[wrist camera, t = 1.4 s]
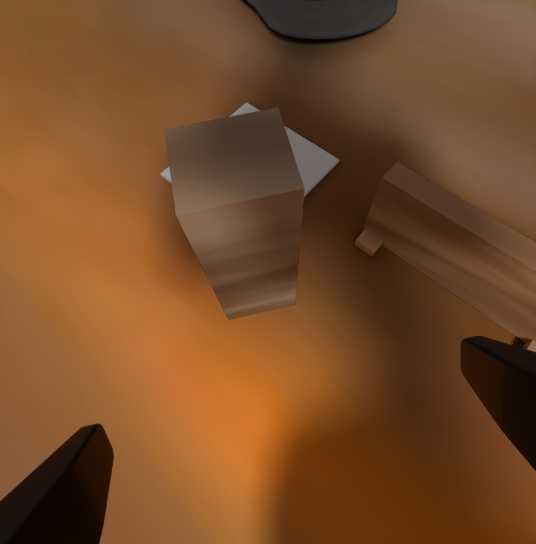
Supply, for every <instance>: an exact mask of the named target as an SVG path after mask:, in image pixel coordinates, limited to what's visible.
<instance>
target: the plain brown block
mask: <svg viewBox="0 0 536 544" xmlns="http://www.w3.org/2000/svg"><path fill="white" fill-rule="evenodd" d="M164 132H165V139H166V146H167V154H168V161H169V169H170V176H171V183H172V191H173V198H174V205H175V213H176V217H177V219H178V221H179V223H180V225H181V227H182V229H183V231H184V233H185V235H186V237H187V238H188V240H189V242H190V244H191V246H192V248H193V250H194V252H195V254H196V256H197V258H198V260H199V262H200V264H201V266H202V268H203V270H204V272H205V274H206V276H207V278H208V280H209V282H210V284H211V286H212V288H213V290H214V292H215V294H216V296H217V298H218V300H219V302H220V304H221V306H222V308H223V310H224V312H225V314H226V316H227V318H228V320H229V319H234V318H238V317H243V316H247V315H252V314H256V313H261V312H265V311H269V310H274V309H278V308H283V307H287V306H292V305H295V300H296V288H297V275H298V263H299V251H300V239H301V226H302V214H303V202H304V189H305V188H304V185H303V182H302V179H301V176H300V173H299V170H298V167H297V164H296V160H295V157H294V154H293V151H292V148H291V145H290V142H289V139H288V136H287V133H286V129H285V126H284V123H283V120H282V117H281V114H280V111H279V108H278V107H276V108H271V109H266V110H261V111H256V112H251V113H246V114H241V115H236V116H230V117H225V118H220V119H215V120H210V121H205V122H200V123H195V124H190V125H185V126H180V127H174V128H169V129H164Z"/></svg>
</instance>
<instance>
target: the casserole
mask: <svg viewBox="0 0 536 544" xmlns="http://www.w3.org/2000/svg"><path fill="white" fill-rule="evenodd" d="M246 1H247V2H248V3H249V4H251V5H252V6H253V7H254V8H255V9H256V10H257V12H258V13H259V15H260V16H261V17H262V19H263V20H264V21H265V22H266V24H267V25H268V26H269V27H270V28H271V29H272V30H274V31H276V32H278V33H280V34H282V35H286V36H291V37H295V38H303V39H337V38H343V37H349V36H354V35H359V34H362V33H365V32H368V31H371V30H374V29H376V28H378V27H380V26H382V25H384V24H386V23H388V22H389V21H390V19H391V18H392V17H393V16H394V15H395V14H396V8H397V0H246Z"/></svg>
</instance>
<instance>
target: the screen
mask: <svg viewBox="0 0 536 544" xmlns="http://www.w3.org/2000/svg"><path fill="white" fill-rule="evenodd" d="M361 232H362V233H361V234H360V236H359V237H358V238H357V239H356V241H355V243H354V246H356V247H357V248H359V249H360V250H362V251H363V252H364V253H366V254H367V255H369V256H370V257H372V256H373V255H374V254H375V253H376V252H377V250H378V249H379V248H380V247H381V246H384V247H385V248H387V249H388V250H389V251H391V252H392V253H394V254H395V255H397V256H398V257H400V258H401V259H403V260H404V261H406V262H407V263H409V264H410V265H412V266H413V267H415V268H416V269H417V270H419V271H420V272H422V273H423V274H425V275H426V276H428V277H429V278H431V279H432V280H434V281H435V282H437V283H438V284H440V285H441V286H443V287H444V288H445V289H447V290H448V291H450V292H451V293H453V294H454V295H456V296H457V297H459V298H460V299H462V300H463V301H465V302H466V303H468V304H469V305H471V306H472V307H474V308H475V309H476V310H478V311H479V312H481V313H482V314H484V315H485V316H487V317H488V318H490V319H491V320H493V321H494V322H496V323H497V324H499V325H500V326H502V327H503V328H504V329H506V330H507V331H509V332H510V333H512V334H513V335H515V336H516V337H518V338H519V339H521V340H522V341H524V342H525V343H524V345H523V347H522V348H524V349H527V350H531V351H534V352H536V243H535V242H533V241H532V240H530V239H528V238H526V237H525V236H523V235H521V234H520V233H518V232H516V231H515V230H513V229H511V228H509V227H508V226H506V225H504V224H503V223H501V222H499V221H498V220H496V219H494V218H492V217H491V216H489V215H487V214H486V213H484V212H482V211H480V210H479V209H477V208H475V207H474V206H472V205H470V204H469V203H467V202H465V201H463V200H462V199H460V198H458V197H457V196H455V195H453V194H452V193H450V192H448V191H446V190H445V189H443V188H441V187H440V186H438V185H436V184H434V183H433V182H431V181H429V180H428V179H426V178H424V177H423V176H421V175H419V174H417V173H416V172H414V171H412V170H411V169H409V168H407V167H405V166H404V165H402V164H400V163H399V162H396V163H395V164H394V165H393V166H392V167H391V168H390V169H389V171H388V172H387V173H386V174H385V175H384V176H383V177H382V179H381V182H380V184H379V187H378V189H377V192H376V195H375V197H374V200H373V202H372V205H371V208H370V210H369V213H368V215H367V218H366V221H365V223H364V226H363V228H362V231H361Z"/></svg>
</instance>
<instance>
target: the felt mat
mask: <svg viewBox="0 0 536 544" xmlns="http://www.w3.org/2000/svg"><path fill="white" fill-rule="evenodd" d="M256 111H260V110H258V109H257V108H255V107H253V106H252V105H250V104H249V103H247V102H246V103H245V104H244V105H243V106H242V107H240V108H239V109H238V110H237V111H235V112H234V113H233V114H232V115H231V116H236V115H241V114H246V113H251V112H256ZM229 117H230V116H229ZM285 129H286V133H287V136H288V139H289V142H290V145H291V148H292V151H293V154H294V157H295V160H296V164H297V167H298V170H299V173H300V176H301V179H302V182H303V185H304V188H305V189H304V197H305V196H306V195H307V194H308V193H309V192H310V191H311V190H312V189H313V188H314V187H315V186H316V185H317V184H318V183H319V182H320V181H321V180H322V179H323V178H324V177H325V176H326V175H327V174H328V173H329V172H330V171H331V170H332V169H333V168H334V167H335V166H336V165H337V164H338V163H339V161H340V160H339V159H337V158H336V157H334V156H332V155H331V154H329V153H328V152H326V151H324V150H323V149H321V148H320V147H318V146H316V145H315V144H313V143H311V142H310V141H308V140H307V139H305V138H303V137H302V136H300V135H299V134H297V133H295V132H294V131H292V130H290V129H289V128H287V127H286V126H285ZM161 176H162V177H164V178H165V179H166V180H167V181H169V182H170V183H171V176H170V169H169V167H168V168H167V169H166V170H164V171H163V172H162V173H161ZM171 184H172V183H171Z"/></svg>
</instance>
